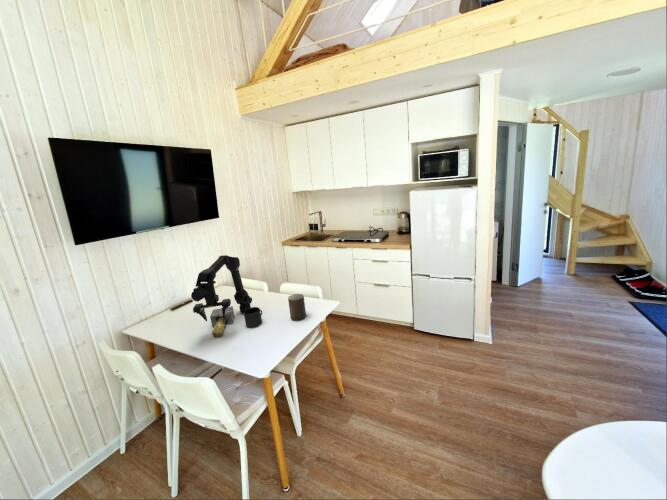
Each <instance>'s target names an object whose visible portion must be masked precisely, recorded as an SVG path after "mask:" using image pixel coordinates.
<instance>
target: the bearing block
mask: <svg viewBox="0 0 667 500" xmlns="http://www.w3.org/2000/svg"><path fill="white" fill-rule="evenodd" d="M210 313H211V314H210V316H209V319H210V323H211V327H212V328H213V329H214V327H215V325H216V322H217V320H218V319H219V318H223V313H222V307H221V308H215V309H213V310H212V311H211V312H210ZM235 316H236V315H235V310H234V306H231V305H230V306H229V307H228V308H227V309H226V311H225V317H224V318H225V319H226V324H225V326H229V325H233V324H234V321H235V318H236V317H235Z"/></svg>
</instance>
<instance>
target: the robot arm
mask: <svg viewBox="0 0 667 500" xmlns="http://www.w3.org/2000/svg"><path fill="white" fill-rule="evenodd" d="M224 265H225V267H226V269H227V270H228V271H229V272H230V274H231V278H232V282H233V284H234V288H235V294H234V295H233V297H234V301H235V302H236V304H237V305H239V306H238V307H239V312H240V314H241V315H244V311H245V310H246V309H248V308H252V306H251V304H252V302H253V298H252V297H251V296H250V295H249V293H248V291H247V290H246V289H245V288H244V284H243V281H242V277H241V273H240V266H241V263H240V258H239V257H238V256H229V255H227V254H226V255H219V256H218V258H217V259H216V260H215V261H214V262H213V263H212V264H211V265H210V266H209V267H208V268H205V269H203V270H202V271H200V272H199V273H198V274H197V278H196V282H195V287H194V288H193V291H192V292H191V297H190V298H191V300H192V301H194V302H200V301H202V300H203V299H204V301H205V304H204V303H203V302H201V303H195V304H194V306H193V308H192V310H193V311H192V313H194V314H195V313H196V314H198V315H199V316H200V317H201V318H203V320H204V321H205V322H208V317H207V315H206V312H205V309H207V308H208V309H209V308H215V307H221V308H222V313H223V318H224V317H225V311H226V309H227V308H228V307H231V303H232V300H231V299H230V298H224V299H222V301H219V300H220V296H219V294H217V293H216V289H215V284H216V283H217V281H215V279H216V278H217V277H216V276H217V274H218V272H219V271H220V270H221V269H222V268H223V266H224Z"/></svg>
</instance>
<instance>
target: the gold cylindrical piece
mask: <svg viewBox="0 0 667 500" xmlns="http://www.w3.org/2000/svg"><path fill="white" fill-rule="evenodd" d="M225 324H226V319H225V318H219V319H218V320H217V322H216V325H215V327H214V328H213V329H212V331H211V335H212V336H213V338H217V339H218V338H221V337H222V336H224V335H223V334H224V330H225V327H226V325H225Z"/></svg>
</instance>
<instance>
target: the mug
mask: <svg viewBox="0 0 667 500" xmlns="http://www.w3.org/2000/svg"><path fill="white" fill-rule="evenodd" d="M262 315H263V310H262V309H261V308H259V307H256V306H253V307H252V306H251V308H248V309H246V310H245V311H244V314H243V316H244V322H245V327H246V328H247V329H248V328H249V329H253V328H257V327H259V326H261V325H262V322H263V320H262Z"/></svg>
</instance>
